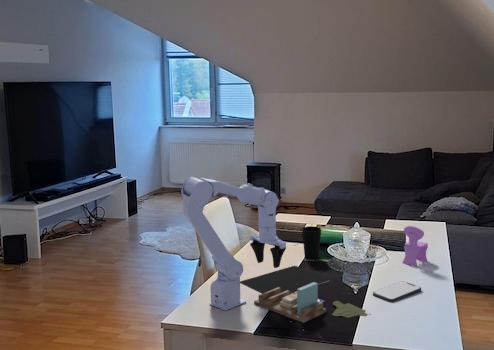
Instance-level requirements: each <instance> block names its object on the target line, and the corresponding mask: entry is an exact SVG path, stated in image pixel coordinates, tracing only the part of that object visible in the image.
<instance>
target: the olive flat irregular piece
mask: <svg viewBox="0 0 494 350" xmlns="http://www.w3.org/2000/svg"><path fill="white" fill-rule="evenodd" d="M332 305H333V306H335V307H336V309H335V310H334V311H333V313H331V316H333V317H334V316H335V317H340V316H341V317H345V318H347V319H349V318H352V317H356V316H360V317H367V316H368V315H370V316H371V315H372V314H371V313H366V312H365V311H367V310H366V309H363V308H360V307H358V306H356V305H354V304H351V303H343V302H341V301H339V300H335V301H333V302H332Z"/></svg>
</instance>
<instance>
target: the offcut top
mask: <svg viewBox="0 0 494 350" xmlns="http://www.w3.org/2000/svg"><path fill="white" fill-rule="evenodd" d="M282 302H285V303H288V304H293V303H295V302H297V294H295V293H291V294H290V295H288V296H285V297H283V298H282Z"/></svg>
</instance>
